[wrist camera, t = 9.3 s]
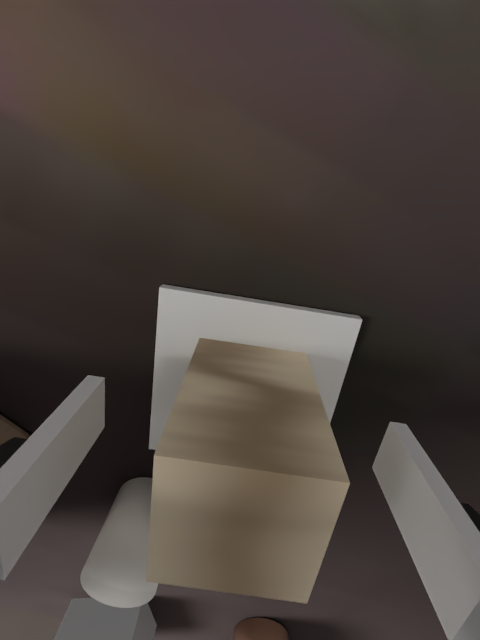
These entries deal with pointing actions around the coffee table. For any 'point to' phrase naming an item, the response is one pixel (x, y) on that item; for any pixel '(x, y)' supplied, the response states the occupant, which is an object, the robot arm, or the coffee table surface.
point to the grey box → (105, 622)
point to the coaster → (245, 340)
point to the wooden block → (10, 430)
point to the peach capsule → (259, 630)
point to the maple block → (245, 476)
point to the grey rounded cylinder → (122, 550)
